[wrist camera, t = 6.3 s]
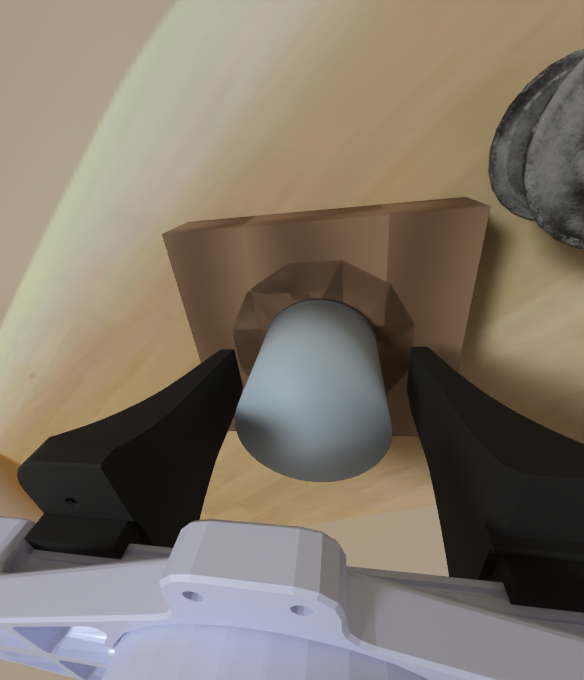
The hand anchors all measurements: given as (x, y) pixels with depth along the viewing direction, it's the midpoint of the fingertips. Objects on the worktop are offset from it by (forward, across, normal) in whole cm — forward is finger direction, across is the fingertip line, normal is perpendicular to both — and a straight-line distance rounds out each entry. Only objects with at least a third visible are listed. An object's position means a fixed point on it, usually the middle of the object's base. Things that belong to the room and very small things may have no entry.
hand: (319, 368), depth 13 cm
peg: (+4, 0, 0) cm, 4 cm away
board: (+4, 0, 0) cm, 4 cm away
